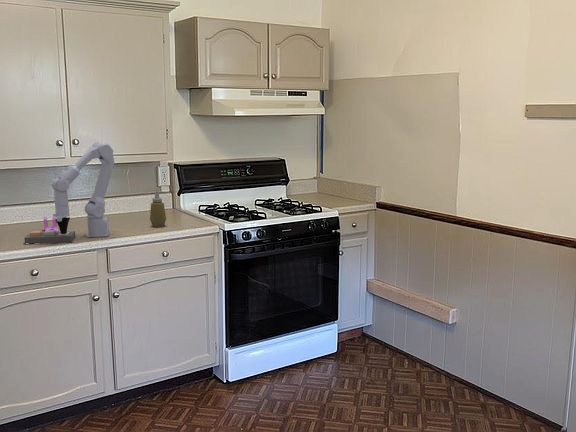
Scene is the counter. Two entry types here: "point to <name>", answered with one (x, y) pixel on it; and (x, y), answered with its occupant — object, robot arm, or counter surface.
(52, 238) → the grey slotted base
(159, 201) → the squeeze bottle
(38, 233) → the terracotta key
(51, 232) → the grey key
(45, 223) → the bracket
